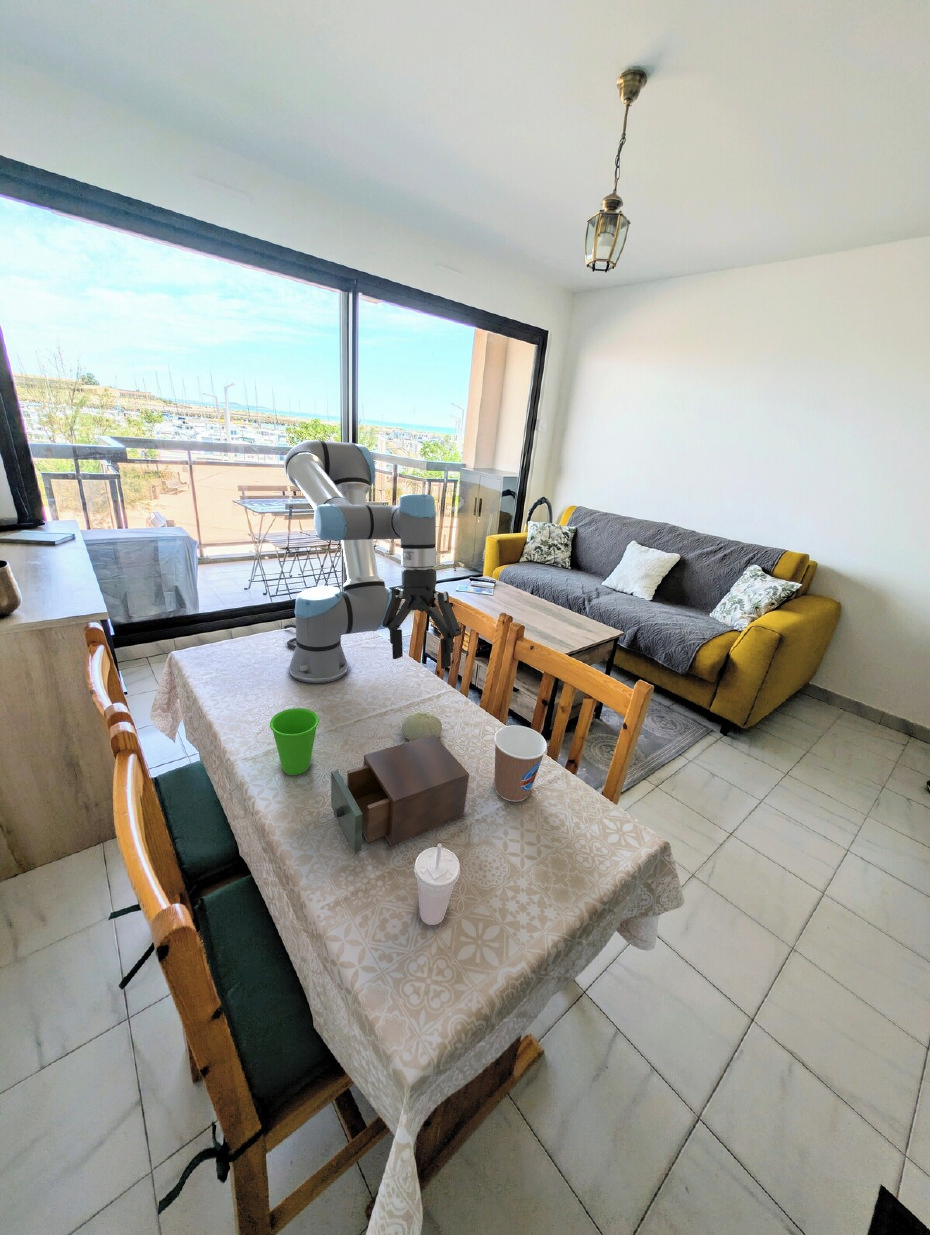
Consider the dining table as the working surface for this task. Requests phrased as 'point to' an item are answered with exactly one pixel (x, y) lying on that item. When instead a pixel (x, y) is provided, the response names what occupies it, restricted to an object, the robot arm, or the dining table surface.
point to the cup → (295, 738)
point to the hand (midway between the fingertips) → (421, 662)
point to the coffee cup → (517, 761)
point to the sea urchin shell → (421, 725)
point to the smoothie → (435, 882)
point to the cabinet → (419, 786)
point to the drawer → (360, 806)
